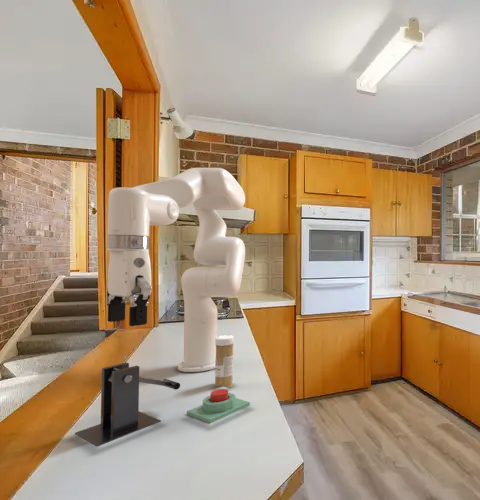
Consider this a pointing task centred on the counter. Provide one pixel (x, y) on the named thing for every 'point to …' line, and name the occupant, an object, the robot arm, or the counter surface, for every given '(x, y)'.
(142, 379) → the lever handle
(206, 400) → the control block
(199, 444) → the counter surface
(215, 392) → the button
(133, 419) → the lever bracket
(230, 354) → the sprinkles bottle
